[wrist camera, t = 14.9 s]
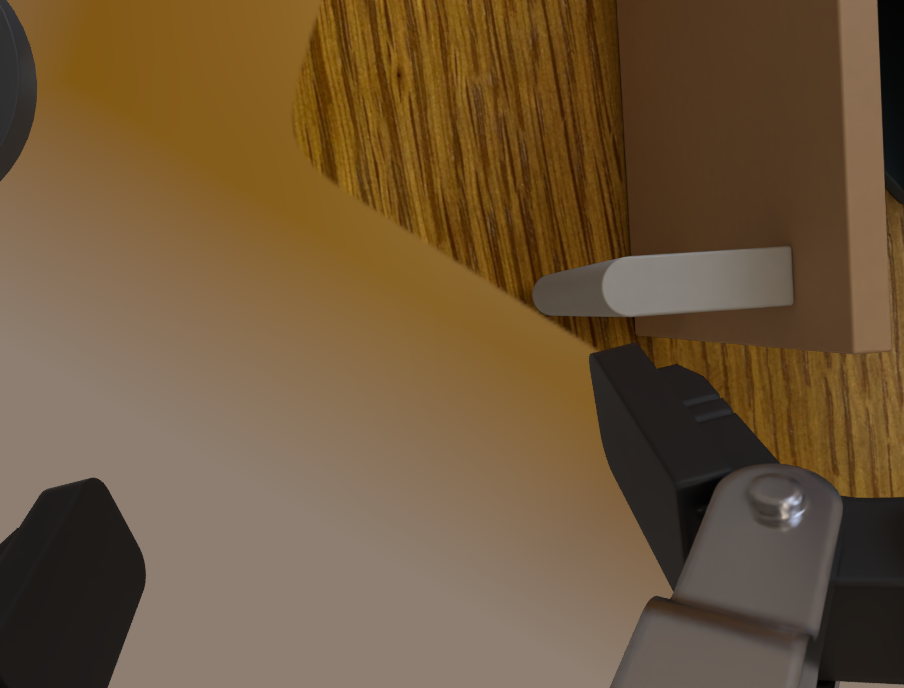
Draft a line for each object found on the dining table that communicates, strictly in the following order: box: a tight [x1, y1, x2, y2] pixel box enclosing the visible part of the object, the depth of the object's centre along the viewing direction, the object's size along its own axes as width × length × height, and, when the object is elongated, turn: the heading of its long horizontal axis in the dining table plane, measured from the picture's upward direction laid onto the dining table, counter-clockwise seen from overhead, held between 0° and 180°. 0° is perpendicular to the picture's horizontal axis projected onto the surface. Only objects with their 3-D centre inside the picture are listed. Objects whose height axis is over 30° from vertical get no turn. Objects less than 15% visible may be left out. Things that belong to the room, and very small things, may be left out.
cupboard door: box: [533, 0, 891, 354], centre depth 25 cm, size 6×18×15 cm, turn 4°
